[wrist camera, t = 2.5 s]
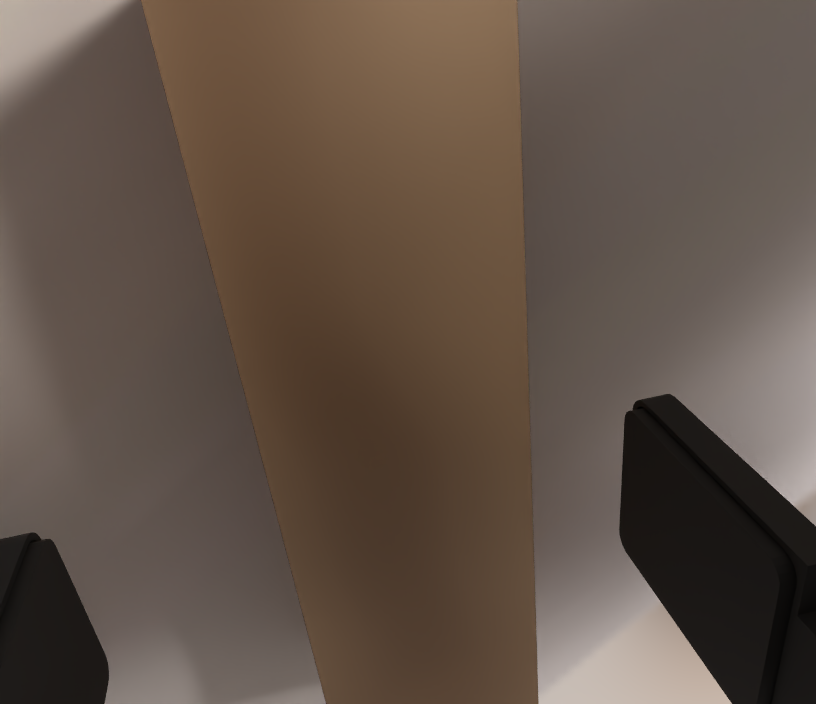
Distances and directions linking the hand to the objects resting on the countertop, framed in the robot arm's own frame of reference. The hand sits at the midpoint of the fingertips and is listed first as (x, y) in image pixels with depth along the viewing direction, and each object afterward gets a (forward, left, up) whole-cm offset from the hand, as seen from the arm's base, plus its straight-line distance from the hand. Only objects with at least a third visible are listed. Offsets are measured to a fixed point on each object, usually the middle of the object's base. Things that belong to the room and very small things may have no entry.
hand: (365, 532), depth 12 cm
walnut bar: (-1, 0, -5) cm, 5 cm away
